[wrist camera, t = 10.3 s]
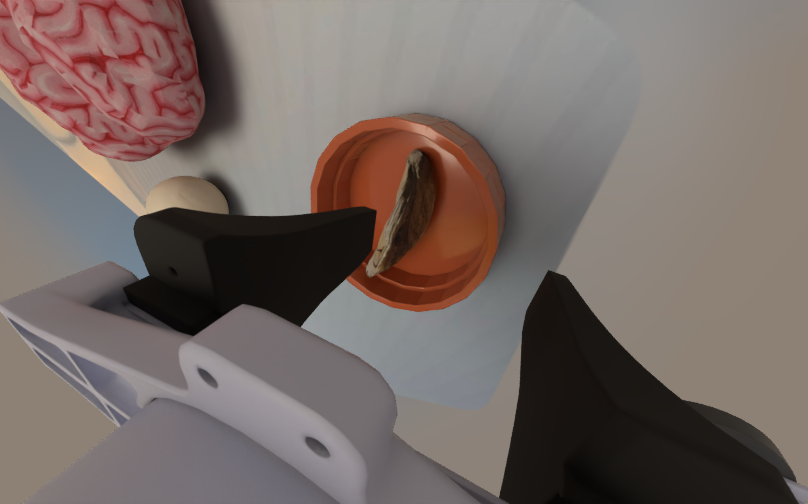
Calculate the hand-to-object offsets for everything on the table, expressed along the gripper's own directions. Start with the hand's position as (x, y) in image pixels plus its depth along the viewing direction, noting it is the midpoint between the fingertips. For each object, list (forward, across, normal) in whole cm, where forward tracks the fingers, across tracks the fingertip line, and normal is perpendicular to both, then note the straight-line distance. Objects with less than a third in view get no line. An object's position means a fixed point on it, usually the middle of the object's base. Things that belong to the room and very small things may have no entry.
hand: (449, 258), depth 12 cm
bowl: (+10, +5, +3) cm, 12 cm away
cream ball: (+11, +28, +10) cm, 32 cm away
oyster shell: (+10, +6, +4) cm, 12 cm away
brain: (+11, +33, -4) cm, 35 cm away
